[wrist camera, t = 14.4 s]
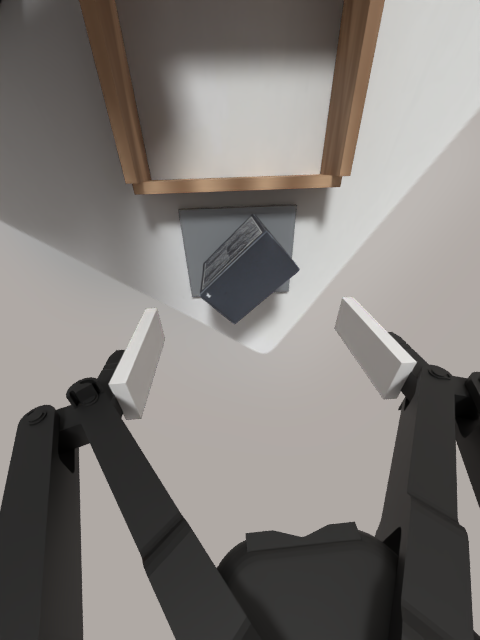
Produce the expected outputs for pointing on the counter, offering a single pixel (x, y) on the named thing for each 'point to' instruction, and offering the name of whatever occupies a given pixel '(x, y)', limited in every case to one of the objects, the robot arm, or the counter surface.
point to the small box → (245, 270)
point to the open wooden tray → (337, 161)
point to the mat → (229, 233)
